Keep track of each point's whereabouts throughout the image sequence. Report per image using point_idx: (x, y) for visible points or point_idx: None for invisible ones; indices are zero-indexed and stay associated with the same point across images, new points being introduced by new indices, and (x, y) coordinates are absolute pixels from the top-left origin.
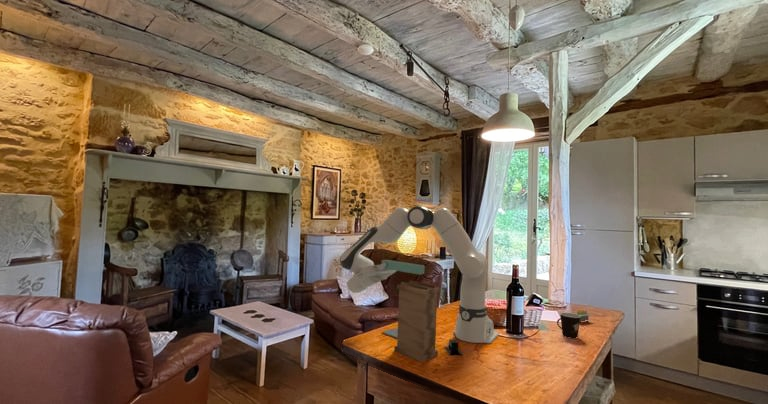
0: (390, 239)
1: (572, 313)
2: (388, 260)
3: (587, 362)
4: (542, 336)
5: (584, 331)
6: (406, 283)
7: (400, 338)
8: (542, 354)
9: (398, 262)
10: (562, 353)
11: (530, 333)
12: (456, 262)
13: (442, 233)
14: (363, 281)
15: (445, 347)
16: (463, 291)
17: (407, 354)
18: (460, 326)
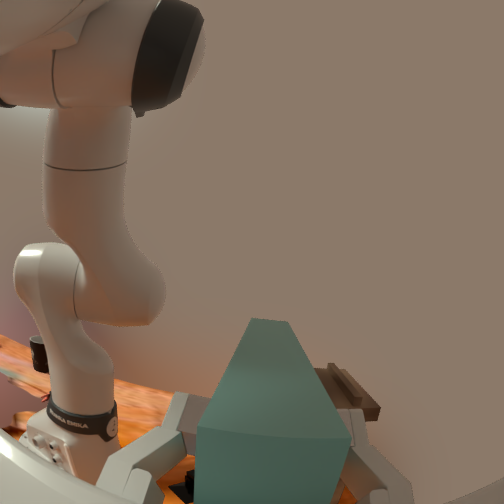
0: (1, 17)
1: (33, 336)
2: (255, 399)
3: (135, 384)
4: (49, 387)
5: (22, 354)
6: (354, 388)
7: None
8: (130, 405)
9: (285, 349)
10: (115, 391)
11: (37, 392)
12: (115, 286)
13: (110, 169)
14: None
15: (192, 500)
16: (100, 372)
17: None
18: (105, 458)
